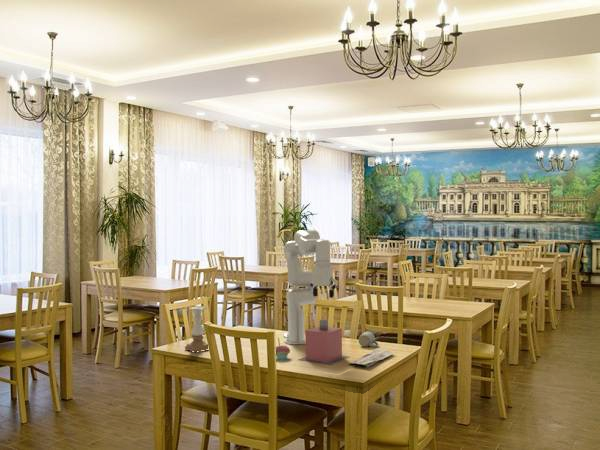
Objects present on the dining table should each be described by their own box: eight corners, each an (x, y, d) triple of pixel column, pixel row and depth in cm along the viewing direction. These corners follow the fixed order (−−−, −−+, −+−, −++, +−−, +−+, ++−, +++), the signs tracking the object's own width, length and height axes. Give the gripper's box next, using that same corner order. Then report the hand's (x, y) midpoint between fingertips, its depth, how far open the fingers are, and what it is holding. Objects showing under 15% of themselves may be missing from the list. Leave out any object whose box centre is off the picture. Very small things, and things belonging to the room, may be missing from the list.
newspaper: (374, 353, 319) (374, 346, 319) (396, 355, 313) (396, 349, 313) (346, 367, 289) (346, 360, 289) (370, 370, 283) (370, 363, 283)
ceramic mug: (357, 346, 334) (357, 333, 334) (362, 343, 341) (362, 330, 341) (375, 348, 329) (375, 335, 329) (380, 345, 337) (380, 332, 336)
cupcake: (277, 362, 300) (277, 338, 300) (270, 358, 308) (270, 335, 308) (292, 360, 304) (292, 336, 304) (285, 356, 312) (285, 334, 312)
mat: (297, 361, 302) (297, 359, 302) (318, 353, 318) (318, 352, 318) (330, 366, 290) (330, 364, 290) (350, 358, 307) (350, 356, 307)
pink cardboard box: (305, 359, 302) (305, 320, 302) (320, 354, 314) (320, 316, 314) (327, 362, 295) (327, 323, 294) (342, 357, 306) (341, 318, 306)
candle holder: (194, 353, 322) (194, 309, 322) (184, 349, 330) (183, 307, 330) (211, 350, 329) (211, 307, 329) (201, 347, 338) (200, 305, 337)
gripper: (305, 263, 306) (305, 296, 306) (333, 264, 296) (334, 298, 296) (312, 262, 312) (313, 295, 312) (341, 263, 302) (341, 297, 302)
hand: (323, 296), depth 304 cm, fingers open, 9 cm apart
